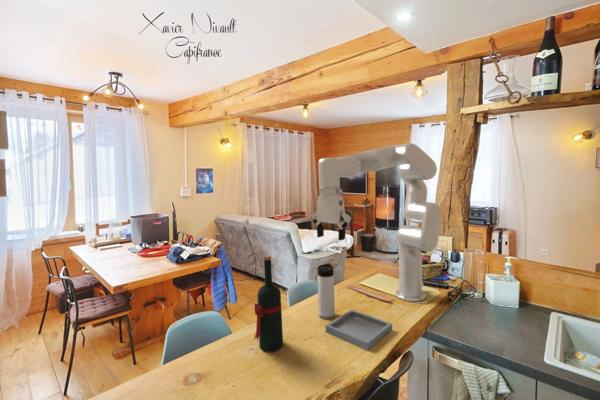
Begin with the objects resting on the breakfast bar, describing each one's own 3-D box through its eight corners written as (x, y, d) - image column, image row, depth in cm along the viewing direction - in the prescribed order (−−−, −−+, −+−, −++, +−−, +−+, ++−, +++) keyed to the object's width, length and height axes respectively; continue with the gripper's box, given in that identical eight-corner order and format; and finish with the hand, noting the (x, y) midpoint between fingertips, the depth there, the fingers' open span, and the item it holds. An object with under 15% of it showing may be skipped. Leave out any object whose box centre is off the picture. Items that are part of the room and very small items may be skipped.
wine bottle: (248, 348, 97) (244, 258, 95) (272, 336, 105) (268, 251, 102) (264, 358, 92) (259, 263, 89) (288, 344, 99) (284, 255, 96)
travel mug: (337, 313, 120) (335, 264, 118) (331, 320, 114) (330, 269, 112) (322, 310, 123) (321, 262, 121) (316, 317, 117) (314, 267, 115)
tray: (351, 315, 117) (351, 309, 117) (392, 330, 106) (391, 323, 105) (325, 332, 106) (325, 325, 106) (367, 350, 94) (367, 343, 94)
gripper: (355, 191, 106) (356, 239, 108) (317, 190, 118) (318, 233, 120) (343, 193, 101) (345, 243, 102) (304, 192, 112) (306, 237, 114)
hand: (330, 238), depth 111 cm, fingers open, 9 cm apart
